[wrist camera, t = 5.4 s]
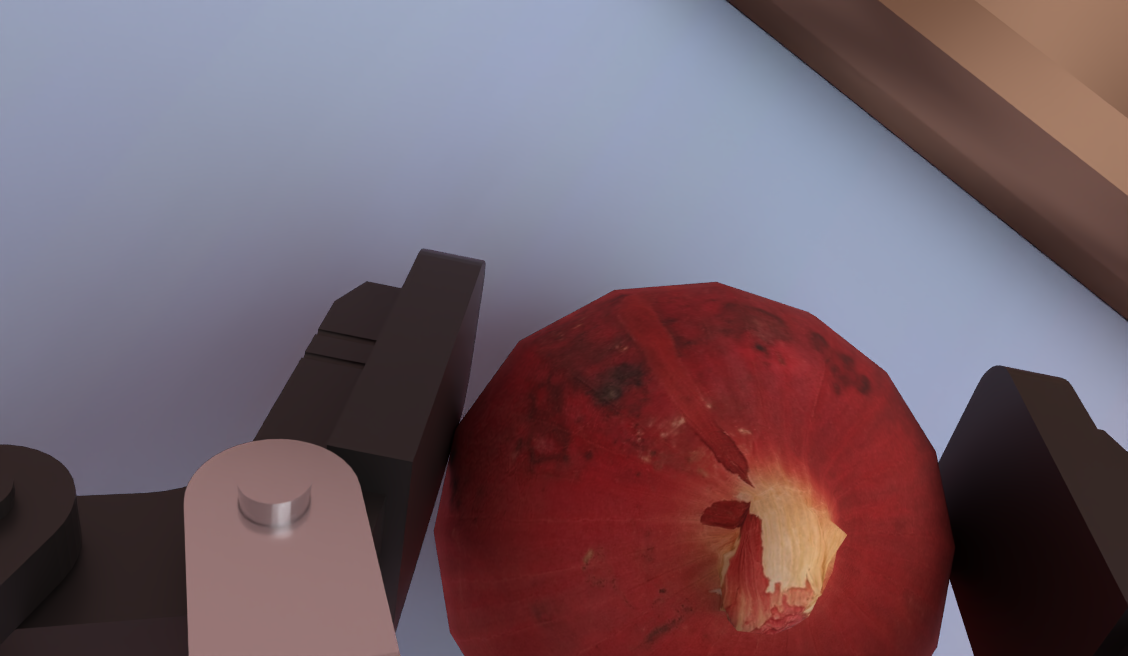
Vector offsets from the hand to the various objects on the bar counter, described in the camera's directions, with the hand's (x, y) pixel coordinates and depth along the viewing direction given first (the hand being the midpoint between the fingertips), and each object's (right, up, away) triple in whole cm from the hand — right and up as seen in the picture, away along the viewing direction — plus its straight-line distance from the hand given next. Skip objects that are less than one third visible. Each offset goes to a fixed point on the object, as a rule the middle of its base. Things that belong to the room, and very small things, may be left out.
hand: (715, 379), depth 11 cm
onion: (-1, -3, +4) cm, 5 cm away
